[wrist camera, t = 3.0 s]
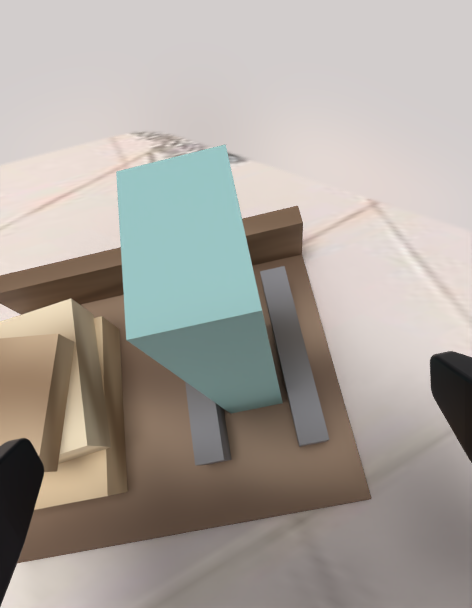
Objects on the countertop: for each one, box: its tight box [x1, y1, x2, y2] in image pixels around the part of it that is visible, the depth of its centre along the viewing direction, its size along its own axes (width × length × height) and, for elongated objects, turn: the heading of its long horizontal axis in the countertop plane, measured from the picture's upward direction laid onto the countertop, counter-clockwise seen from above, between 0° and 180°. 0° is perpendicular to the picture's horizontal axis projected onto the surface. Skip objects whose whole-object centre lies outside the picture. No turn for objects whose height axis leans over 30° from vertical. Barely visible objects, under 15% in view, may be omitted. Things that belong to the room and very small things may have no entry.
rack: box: [0, 206, 371, 563], centre depth 17 cm, size 13×16×6 cm
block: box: [117, 145, 283, 413], centre depth 13 cm, size 4×2×12 cm, turn 10°
